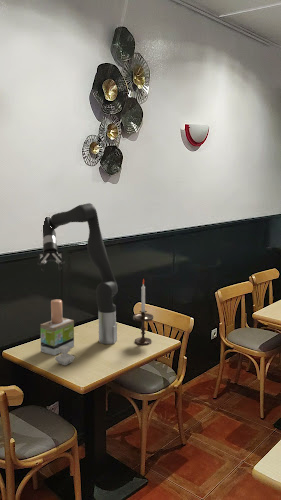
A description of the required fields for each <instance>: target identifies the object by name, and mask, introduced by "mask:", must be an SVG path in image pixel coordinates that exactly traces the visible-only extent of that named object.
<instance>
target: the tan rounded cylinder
mask: <svg viewBox="0 0 281 500" xmlns="http://www.w3.org/2000/svg"><path fill="white" fill-rule="evenodd" d="M50 312H51V313H50V314H51V318H50V319H51V320H50V321H52V323H54V324H58V323H62V322H63V318H64V317H63V300H62V299H57V298H56V299H51V301H50Z"/></svg>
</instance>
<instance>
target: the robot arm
mask: <svg viewBox="0 0 281 500" xmlns="http://www.w3.org/2000/svg"><path fill="white" fill-rule="evenodd" d="M70 223H87V226H88V232H89V233H88V239H87V242H86V245H87V246H86V247H87V248H86V249H87V253H88V256H89V259H90V262H91V263H92V264H93V266H94V267H95V268H96V269H97V271H98V274H99V275H100V279H101V282H100V283H99V284H98V285H97V286H96V291H95V294H96V296H95V298H96V305H97V308H98V309H97V310H98V342H99V343H100V344H103V345H110V344H111V345H112V344H115V343H116V342H117V341H118V323H117V316H116V315H117V309H116V308H117V305H116V304H114V302H113V297H114V296H116V295H117V294H118V290H119V287H118V284H117V283H118V282H117V280H116V279H115V275H114V273H113V271H112V267H111V264H110V260H109V256H108V254H107V249H106V245H105V244H104V240H103V239H104V238H103V236H102V232H101V231H102V230H101V228H100V223H99V216H98V212H97V209H96V207H95V205H94V204H93V203H89V202H88V203H83V204H79V205H77V206H75V207H73V208H72V209H70V210H67V211H61V212H58V213H55V214H52V216H51V218H50V217H46V218H45V221H44V225H43V233H42V239H43V240H42V249H43V253H40V252H38V253H37V265H38V266H40V268H41V269H40V270H41V271H42V272H45V264H47V262H49V263H50V262H56V264H58V271H61V270H62V268H63V267H62V264H63V265H64V264H65V254H64V252H61V253H58V243H57V234H56V231H55V230H56V229H57V228H59V227H60V226H61V227H62V226H65V225H67V224H70ZM50 226H51V227H52V228H51V227H50ZM59 257H60V258H59ZM42 258H43V259H42ZM41 259H42V260H41ZM60 259H61V260H60Z"/></svg>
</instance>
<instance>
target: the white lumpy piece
mask: <svg viewBox="0 0 281 500" xmlns="http://www.w3.org/2000/svg"><path fill="white" fill-rule="evenodd" d="M71 349H72V348H70V347H69V346H65V345H64V346H61V347H59V348H58V350H59V351H60V353H61V354H59V355H57V356H56V355H55V359H54V360H55V361H56V362H57V363H58V364H60V365H62V366H68V365H69V364H71V363H73V362H74V360H75V355H72V354H69V353H70V351H71ZM68 352H69V353H68Z"/></svg>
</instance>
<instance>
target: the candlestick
mask: <svg viewBox="0 0 281 500" xmlns="http://www.w3.org/2000/svg"><path fill="white" fill-rule="evenodd" d="M140 297H141V300H140V301H141V307H140V309H141V310H139V312H138V313H135V314H133V316H132V319H133V320H134V321H137V322H141V327H140V331H141V332H140V334H141V337H138V338H135V339H134V343H135V344H136V345H139V346H148V345H151V344H152V342H153V341H152V339H151V338H149V337H145V334H146V327H145V322H149V321H150V322H151V321H153V320H154V315H153V314H151V313H149V312H148V313H147V310H146V286H145V278H143V279H142V286H141V296H140Z"/></svg>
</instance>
